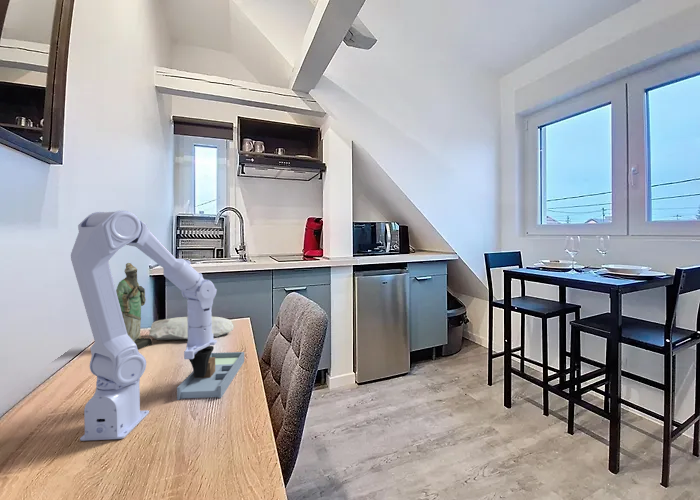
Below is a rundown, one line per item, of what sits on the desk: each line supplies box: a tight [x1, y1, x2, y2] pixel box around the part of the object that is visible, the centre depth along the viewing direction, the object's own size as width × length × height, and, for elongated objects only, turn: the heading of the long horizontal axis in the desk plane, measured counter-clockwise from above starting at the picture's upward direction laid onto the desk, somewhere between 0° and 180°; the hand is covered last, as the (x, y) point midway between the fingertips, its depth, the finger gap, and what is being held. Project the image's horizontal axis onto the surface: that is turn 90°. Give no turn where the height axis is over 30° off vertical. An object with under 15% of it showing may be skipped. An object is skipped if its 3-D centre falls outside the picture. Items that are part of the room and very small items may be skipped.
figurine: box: [115, 262, 153, 351], centre depth 112 cm, size 10×10×30 cm
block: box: [195, 357, 215, 378], centre depth 86 cm, size 4×4×4 cm
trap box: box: [176, 351, 245, 401], centre depth 88 cm, size 23×10×3 cm, turn 5°
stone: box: [148, 316, 234, 341], centre depth 127 cm, size 21×8×30 cm
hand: (200, 376), depth 83 cm, fingers closed
